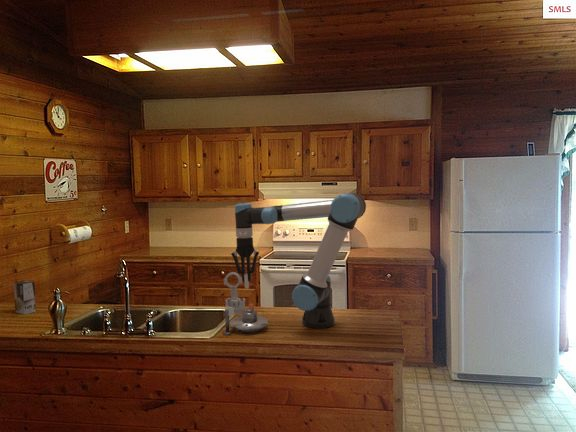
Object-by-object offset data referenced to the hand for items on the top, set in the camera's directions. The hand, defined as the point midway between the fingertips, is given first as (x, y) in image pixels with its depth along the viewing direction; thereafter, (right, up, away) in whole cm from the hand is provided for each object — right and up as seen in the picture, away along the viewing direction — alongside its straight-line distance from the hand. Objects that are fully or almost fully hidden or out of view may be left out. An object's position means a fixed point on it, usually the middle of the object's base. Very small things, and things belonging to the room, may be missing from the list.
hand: (247, 288), depth 218 cm
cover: (+2, -14, -5) cm, 15 cm away
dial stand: (-8, -18, -11) cm, 23 cm away
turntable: (+1, -16, -5) cm, 16 cm away
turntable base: (+1, -18, -5) cm, 19 cm away
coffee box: (-119, -18, +31) cm, 125 cm away
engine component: (-9, -16, +26) cm, 32 cm away
